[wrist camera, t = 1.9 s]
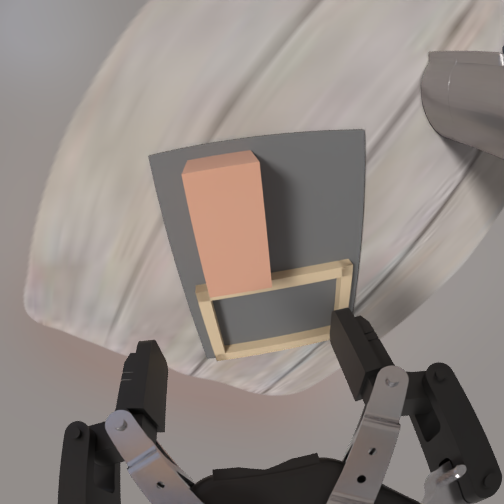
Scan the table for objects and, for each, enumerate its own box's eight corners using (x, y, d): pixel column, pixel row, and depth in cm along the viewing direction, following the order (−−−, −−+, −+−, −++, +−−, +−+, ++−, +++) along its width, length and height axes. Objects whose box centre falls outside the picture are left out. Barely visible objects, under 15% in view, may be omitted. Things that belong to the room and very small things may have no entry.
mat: (149, 155, 21) (145, 159, 19) (362, 129, 22) (371, 131, 20) (207, 356, 33) (207, 366, 32) (348, 328, 34) (352, 337, 33)
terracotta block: (187, 160, 21) (181, 174, 17) (250, 150, 21) (259, 161, 18) (209, 266, 26) (209, 297, 22) (262, 258, 27) (272, 287, 23)
